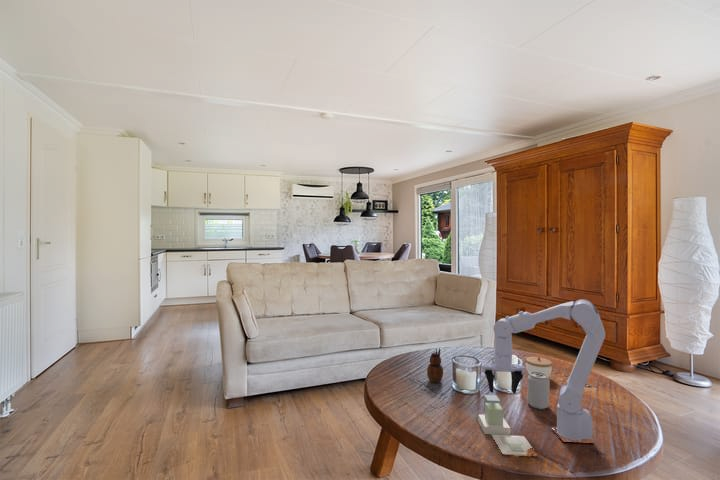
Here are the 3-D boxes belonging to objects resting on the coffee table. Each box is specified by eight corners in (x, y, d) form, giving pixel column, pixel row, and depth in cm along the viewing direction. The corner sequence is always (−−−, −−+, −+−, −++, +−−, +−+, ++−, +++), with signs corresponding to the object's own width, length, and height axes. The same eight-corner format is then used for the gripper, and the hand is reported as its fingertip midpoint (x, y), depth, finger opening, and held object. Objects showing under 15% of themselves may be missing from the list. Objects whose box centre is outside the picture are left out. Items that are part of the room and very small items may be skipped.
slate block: (496, 408, 134) (496, 395, 134) (500, 414, 129) (500, 400, 129) (483, 408, 134) (484, 394, 134) (487, 414, 130) (487, 400, 130)
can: (551, 405, 137) (552, 374, 136) (545, 412, 131) (546, 379, 131) (530, 399, 142) (531, 368, 142) (524, 405, 136) (524, 374, 136)
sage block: (498, 418, 122) (498, 403, 122) (503, 424, 117) (503, 409, 117) (484, 417, 122) (485, 402, 122) (489, 424, 117) (489, 409, 117)
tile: (524, 437, 114) (524, 435, 114) (537, 457, 104) (537, 454, 104) (492, 436, 115) (492, 433, 115) (502, 455, 105) (502, 452, 105)
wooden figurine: (444, 381, 158) (445, 347, 158) (440, 385, 153) (440, 350, 153) (430, 377, 162) (430, 344, 162) (425, 381, 157) (425, 347, 157)
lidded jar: (524, 378, 162) (524, 358, 162) (527, 371, 171) (527, 351, 171) (550, 384, 156) (551, 362, 156) (552, 376, 165) (553, 355, 165)
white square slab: (501, 423, 124) (502, 415, 124) (510, 437, 116) (510, 427, 116) (478, 422, 124) (478, 414, 124) (484, 435, 116) (484, 426, 116)
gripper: (519, 350, 130) (519, 387, 130) (479, 349, 131) (478, 386, 131) (527, 357, 123) (527, 396, 123) (484, 355, 124) (483, 394, 124)
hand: (502, 391), depth 126 cm, fingers open, 7 cm apart
